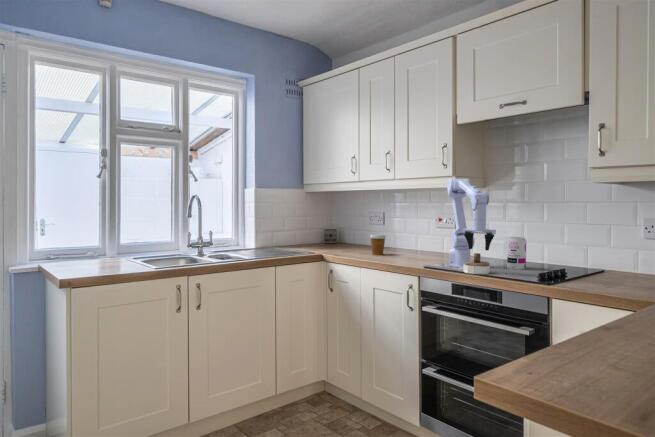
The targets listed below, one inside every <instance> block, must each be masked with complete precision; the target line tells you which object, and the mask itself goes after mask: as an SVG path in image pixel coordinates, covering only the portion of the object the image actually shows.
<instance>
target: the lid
mask: <svg viewBox="0 0 655 437" xmlns="http://www.w3.org/2000/svg"><path fill="white" fill-rule="evenodd" d="M465 265H469V266H489V265H490V262H489V261H481V253H478V252H477V253H476V252H474V253H473V260H470V261H466V262H465Z"/></svg>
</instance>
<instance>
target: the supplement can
mask: <svg viewBox="0 0 655 437" xmlns="http://www.w3.org/2000/svg"><path fill="white" fill-rule="evenodd" d="M506 243H507V244H506V245H507V246H506V247H507V248H506V251H507V252H506V254H507V255H506V257H507V258H506V267H507V268H508V269H509V270H525V269H526V268H527V267H526V266H527V240H526V237H524V236H508V239H507V242H506Z"/></svg>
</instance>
